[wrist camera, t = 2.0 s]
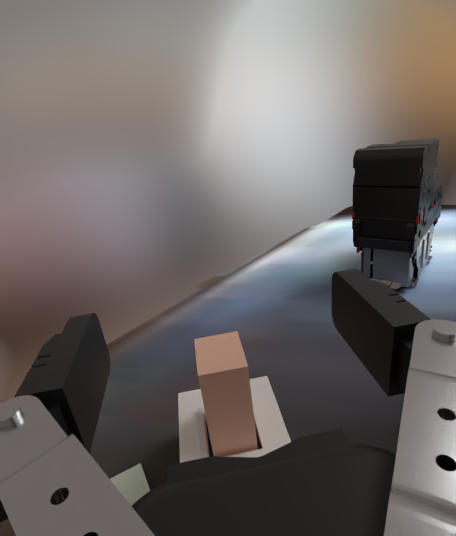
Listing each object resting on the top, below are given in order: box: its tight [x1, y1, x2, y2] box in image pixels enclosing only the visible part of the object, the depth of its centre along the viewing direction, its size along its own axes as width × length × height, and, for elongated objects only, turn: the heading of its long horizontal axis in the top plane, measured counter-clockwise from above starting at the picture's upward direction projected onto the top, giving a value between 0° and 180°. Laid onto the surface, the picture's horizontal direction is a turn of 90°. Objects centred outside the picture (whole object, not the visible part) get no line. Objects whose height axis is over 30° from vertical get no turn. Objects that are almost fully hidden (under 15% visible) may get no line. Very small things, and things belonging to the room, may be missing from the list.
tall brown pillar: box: [194, 331, 258, 457], centre depth 33 cm, size 5×4×14 cm
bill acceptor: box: [352, 139, 443, 289], centre depth 67 cm, size 10×23×25 cm, turn 142°
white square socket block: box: [178, 376, 291, 463], centre depth 35 cm, size 12×10×6 cm
